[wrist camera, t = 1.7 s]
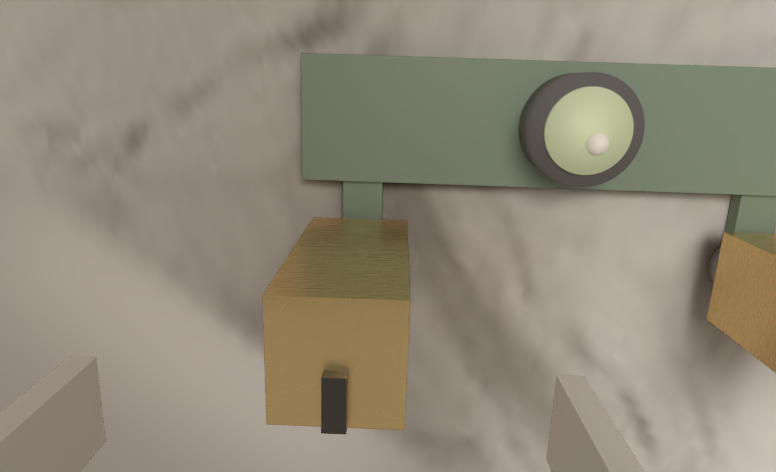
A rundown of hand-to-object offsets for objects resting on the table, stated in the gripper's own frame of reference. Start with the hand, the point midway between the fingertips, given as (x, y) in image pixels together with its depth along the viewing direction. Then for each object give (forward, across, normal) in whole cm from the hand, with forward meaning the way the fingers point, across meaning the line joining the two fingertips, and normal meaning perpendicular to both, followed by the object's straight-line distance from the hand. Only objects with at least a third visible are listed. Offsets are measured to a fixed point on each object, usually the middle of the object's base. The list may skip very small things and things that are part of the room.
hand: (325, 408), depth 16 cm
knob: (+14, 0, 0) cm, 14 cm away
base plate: (+15, +10, +5) cm, 18 cm away
